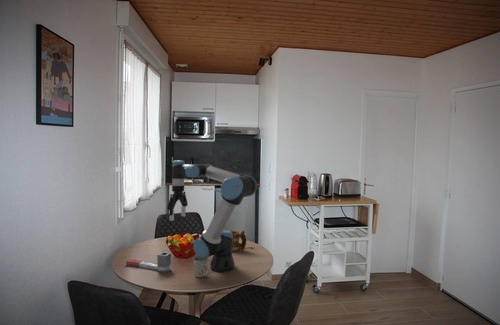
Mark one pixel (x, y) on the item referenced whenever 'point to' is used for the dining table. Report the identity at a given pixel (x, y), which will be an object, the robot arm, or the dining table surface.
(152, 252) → the dining table surface
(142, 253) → the dining table surface
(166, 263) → the socket
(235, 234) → the mug
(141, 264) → the ratchet
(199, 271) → the mug
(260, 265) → the dining table surface
